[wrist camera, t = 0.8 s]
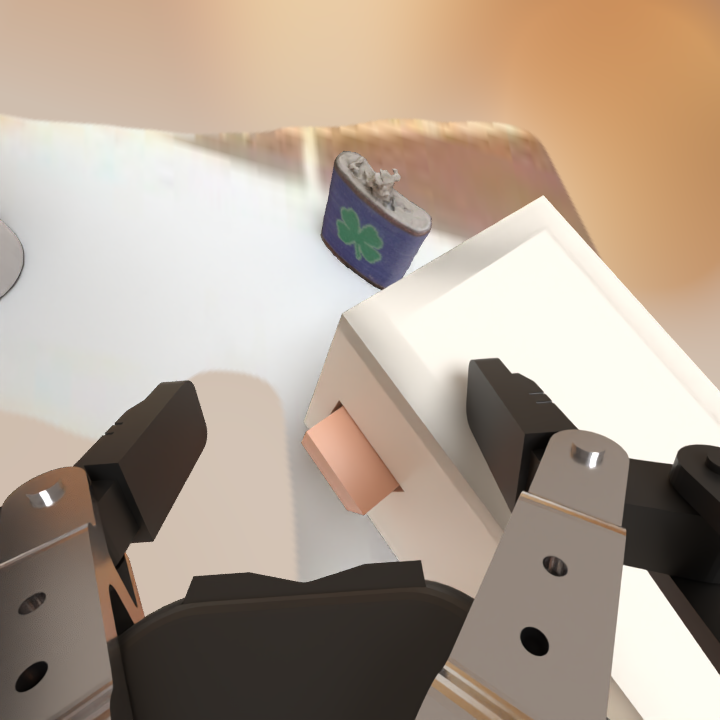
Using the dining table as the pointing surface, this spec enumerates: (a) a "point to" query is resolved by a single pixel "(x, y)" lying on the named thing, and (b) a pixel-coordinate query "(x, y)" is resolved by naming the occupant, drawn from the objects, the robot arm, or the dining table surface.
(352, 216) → the flask
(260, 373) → the dining table surface
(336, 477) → the terracotta button
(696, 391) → the button panel
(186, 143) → the dining table surface
